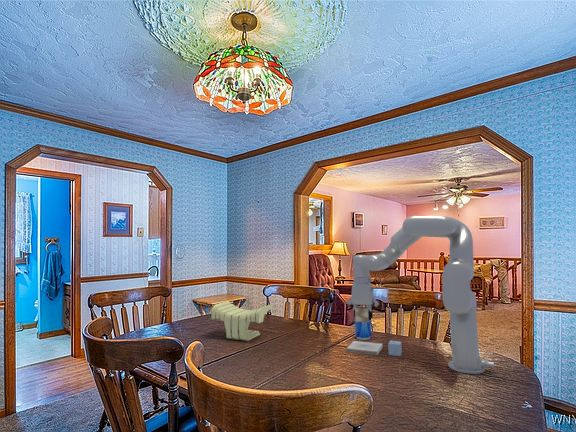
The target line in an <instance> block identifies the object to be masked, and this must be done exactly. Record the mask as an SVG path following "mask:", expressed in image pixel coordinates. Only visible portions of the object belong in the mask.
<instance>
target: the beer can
mask: <svg viewBox="0 0 576 432" xmlns="http://www.w3.org/2000/svg"><path fill="white" fill-rule="evenodd" d="M361 306H362V307H365V305H361ZM353 317H354V316H353ZM371 320H372V319H371ZM371 320H370V321H369V322H356V321H355V317H354V336H355V337H356V340H358V341H370V339H371V337H372V321H371Z"/></svg>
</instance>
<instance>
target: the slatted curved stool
mask: <svg viewBox="0 0 576 432" xmlns="http://www.w3.org/2000/svg"><path fill="white" fill-rule="evenodd" d="M272 309H274V304H273V303H269V304H267V305H265V306H261V307H260V308H258V309H253V310H252V309H251V310H249V309H244V308H241V307H240V308H239V306H236V305H235V304H234V303H232V302H230V301H228V300H227V301H223V302H220V303H216V304H214V305H213V306H212V308H211V320H215V319H217V320H221V321H222V322H223V323H224V327H225V333H226V339H230V340H241V341H248V342H249V341H251V340H252V339H255V338H256V337H259V336H260V335H261V333H260V332H259V330H250V329H249V326H250V324H251V323H252V322H253V323H254V322H255V323H257V324H261V323H263V322H264V318H265V315H266V314H267V312H269V311H271V310H272Z"/></svg>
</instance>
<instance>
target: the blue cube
mask: <svg viewBox="0 0 576 432" xmlns="http://www.w3.org/2000/svg"><path fill="white" fill-rule="evenodd" d="M387 344H388V345H387V347H388V348H387V350H388V355H389V356H396V357H401V356H402V354H403V350H402V349H403V348H402V347H403V346H402V340H401V341H399V340H389V341H388V342H387Z"/></svg>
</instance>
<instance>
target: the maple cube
mask: <svg viewBox="0 0 576 432" xmlns="http://www.w3.org/2000/svg"><path fill="white" fill-rule="evenodd" d="M362 306H363V305H358V306H357V307H356V308H355V319H354V322H355V321H356V322H369V321H370V320H369V308H368V306H364V307H362Z"/></svg>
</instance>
